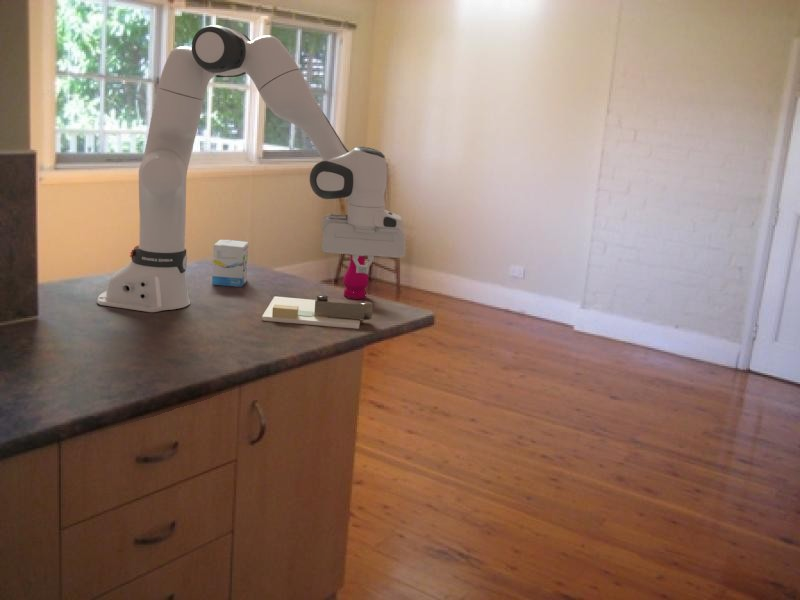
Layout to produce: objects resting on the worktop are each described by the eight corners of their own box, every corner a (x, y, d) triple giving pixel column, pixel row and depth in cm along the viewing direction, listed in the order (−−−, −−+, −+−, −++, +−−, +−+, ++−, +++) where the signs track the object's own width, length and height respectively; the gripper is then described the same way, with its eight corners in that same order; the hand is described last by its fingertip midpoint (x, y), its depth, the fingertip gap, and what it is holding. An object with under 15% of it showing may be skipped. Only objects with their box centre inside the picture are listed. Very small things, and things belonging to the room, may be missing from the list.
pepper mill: (364, 300, 243) (369, 229, 238) (339, 297, 244) (344, 226, 239) (370, 295, 250) (375, 225, 244) (345, 291, 251) (350, 222, 246)
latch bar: (314, 315, 219) (315, 297, 218) (315, 311, 223) (317, 294, 222) (371, 320, 219) (372, 302, 218) (371, 316, 223) (373, 298, 222)
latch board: (261, 320, 216) (262, 306, 215) (274, 299, 235) (275, 287, 235) (358, 328, 216) (359, 315, 215) (363, 307, 236) (364, 295, 235)
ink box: (241, 287, 245) (243, 247, 242) (211, 285, 245) (212, 244, 242) (247, 280, 254) (249, 241, 251) (218, 278, 253) (219, 238, 251)
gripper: (320, 215, 206) (318, 272, 209) (407, 221, 206) (403, 278, 209) (323, 211, 212) (320, 266, 215) (407, 217, 212) (403, 272, 215)
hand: (362, 272), depth 212 cm, fingers closed
